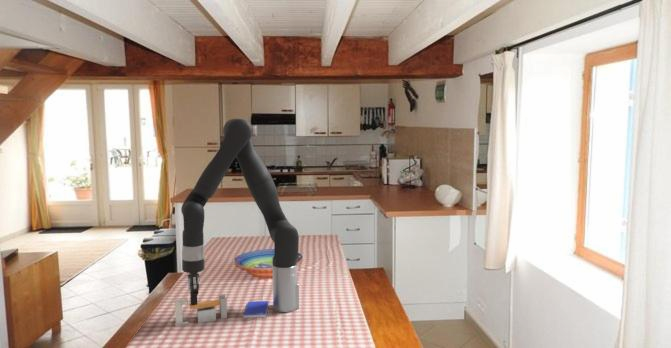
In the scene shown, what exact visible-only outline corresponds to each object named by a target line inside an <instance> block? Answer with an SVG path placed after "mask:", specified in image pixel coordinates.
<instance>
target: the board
mask: <svg viewBox="0 0 671 348" xmlns="http://www.w3.org/2000/svg"><path fill="white" fill-rule="evenodd" d="M218 300H221V305H219V315H220V318H221V319H222V320H223V319H227V318H228V304H227V297H226V295H225V293H224V294H218ZM182 318H183V320H186V321H183V322H180V323H176V318H175V317H174V326H175V327H182V326H187V325H189V320H188V319H189V317H188V315H185V316H183V315H182ZM187 320H188V321H187Z"/></svg>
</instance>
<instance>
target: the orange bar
mask: <svg viewBox="0 0 671 348" xmlns="http://www.w3.org/2000/svg"><path fill="white" fill-rule="evenodd" d="M220 305H221V300H219V299H216V300H207V301H200V302H197V305H191V303H189V310H194V309H196V310H197V308H204V307H212V306H215V307H218V306H219V307H220Z"/></svg>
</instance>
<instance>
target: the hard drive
mask: <svg viewBox="0 0 671 348" xmlns="http://www.w3.org/2000/svg"><path fill="white" fill-rule="evenodd" d="M269 304H270V302H269V301H268V300H264V301H262V300H260V301H248V302H247V304H246V307H245V310H244V312H243V315H242V317H243V318H266V317H267V314H268V308H269Z"/></svg>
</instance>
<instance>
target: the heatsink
mask: <svg viewBox="0 0 671 348" xmlns="http://www.w3.org/2000/svg"><path fill="white" fill-rule="evenodd" d="M216 311H217V309H216V306H212V307H204V308H196V317H197V322H198V324H202V323H209V322H216V321H217V316H216V315H217V314H216Z"/></svg>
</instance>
